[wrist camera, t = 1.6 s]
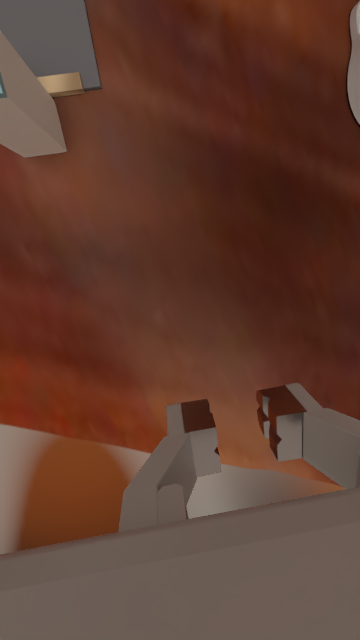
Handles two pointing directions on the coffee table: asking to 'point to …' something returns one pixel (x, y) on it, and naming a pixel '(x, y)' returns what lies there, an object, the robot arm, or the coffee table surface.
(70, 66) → the charcoal rubber mat
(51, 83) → the oak stop strip
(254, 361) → the coffee table surface
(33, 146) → the cream block
